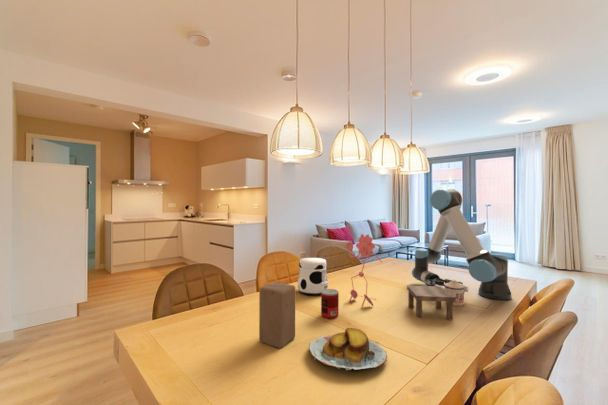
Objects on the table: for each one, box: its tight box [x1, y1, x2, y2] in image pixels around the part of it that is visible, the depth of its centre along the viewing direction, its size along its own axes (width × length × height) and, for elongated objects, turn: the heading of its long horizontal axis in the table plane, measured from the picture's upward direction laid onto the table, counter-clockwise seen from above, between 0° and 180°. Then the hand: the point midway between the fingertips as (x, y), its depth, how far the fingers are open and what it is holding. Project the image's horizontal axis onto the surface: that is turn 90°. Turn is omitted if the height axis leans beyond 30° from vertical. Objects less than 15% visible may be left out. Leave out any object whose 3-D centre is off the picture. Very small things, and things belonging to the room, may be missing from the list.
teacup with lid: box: [443, 279, 465, 307], centre depth 146 cm, size 12×9×12 cm
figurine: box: [346, 233, 383, 308], centre depth 146 cm, size 15×26×35 cm, turn 31°
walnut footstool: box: [406, 285, 455, 321], centre depth 133 cm, size 16×16×10 cm
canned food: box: [320, 288, 340, 320], centre depth 128 cm, size 8×8×11 cm
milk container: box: [297, 257, 329, 296], centre depth 162 cm, size 17×17×18 cm
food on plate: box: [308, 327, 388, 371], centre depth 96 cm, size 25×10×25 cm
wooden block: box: [258, 281, 296, 349], centre depth 105 cm, size 10×10×20 cm
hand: (455, 290), depth 146 cm, fingers open, 13 cm apart
